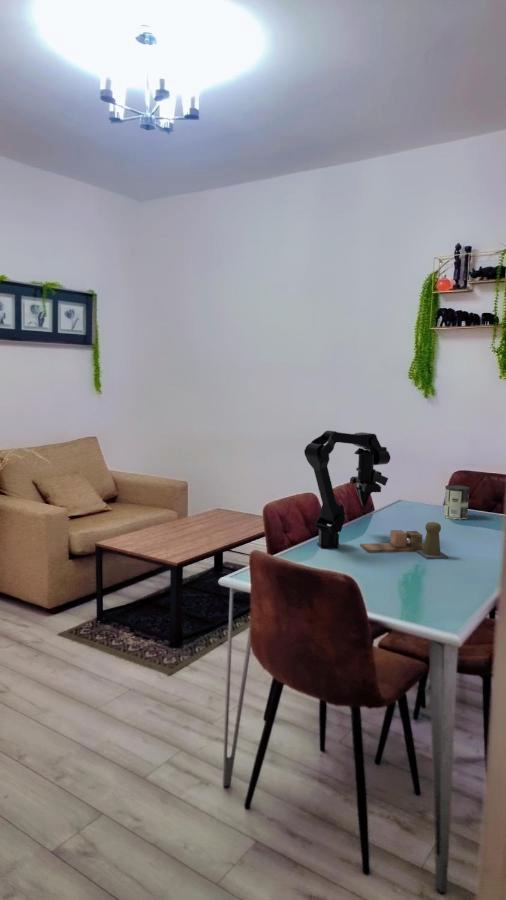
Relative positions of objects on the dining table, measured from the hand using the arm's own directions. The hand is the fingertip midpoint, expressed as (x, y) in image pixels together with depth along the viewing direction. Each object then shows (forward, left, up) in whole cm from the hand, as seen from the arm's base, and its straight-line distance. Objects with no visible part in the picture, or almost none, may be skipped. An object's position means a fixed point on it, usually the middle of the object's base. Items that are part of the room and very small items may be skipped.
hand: (363, 506), depth 225 cm
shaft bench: (+8, -13, -13) cm, 20 cm away
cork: (+18, -22, -12) cm, 31 cm away
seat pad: (+18, -22, -13) cm, 31 cm away
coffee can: (+56, +33, -13) cm, 66 cm away
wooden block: (+12, -13, -12) cm, 21 cm away
